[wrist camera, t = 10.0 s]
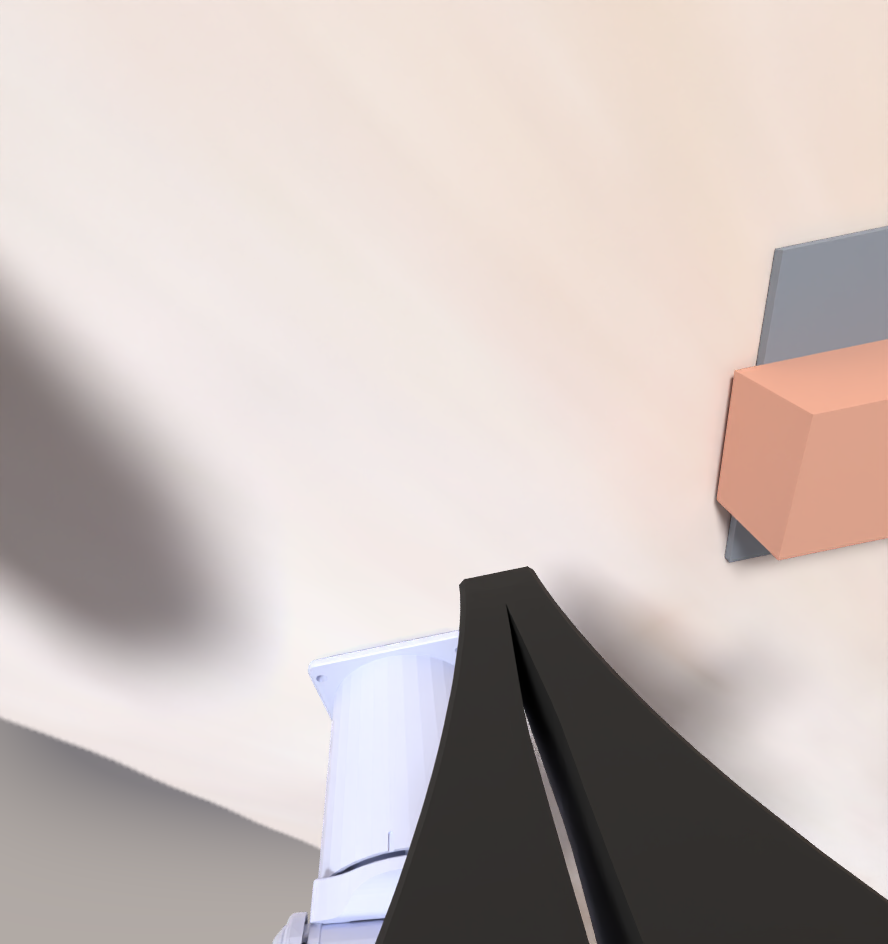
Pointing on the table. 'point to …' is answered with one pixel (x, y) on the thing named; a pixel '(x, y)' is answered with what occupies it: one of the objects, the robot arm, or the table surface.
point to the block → (810, 451)
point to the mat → (820, 315)
